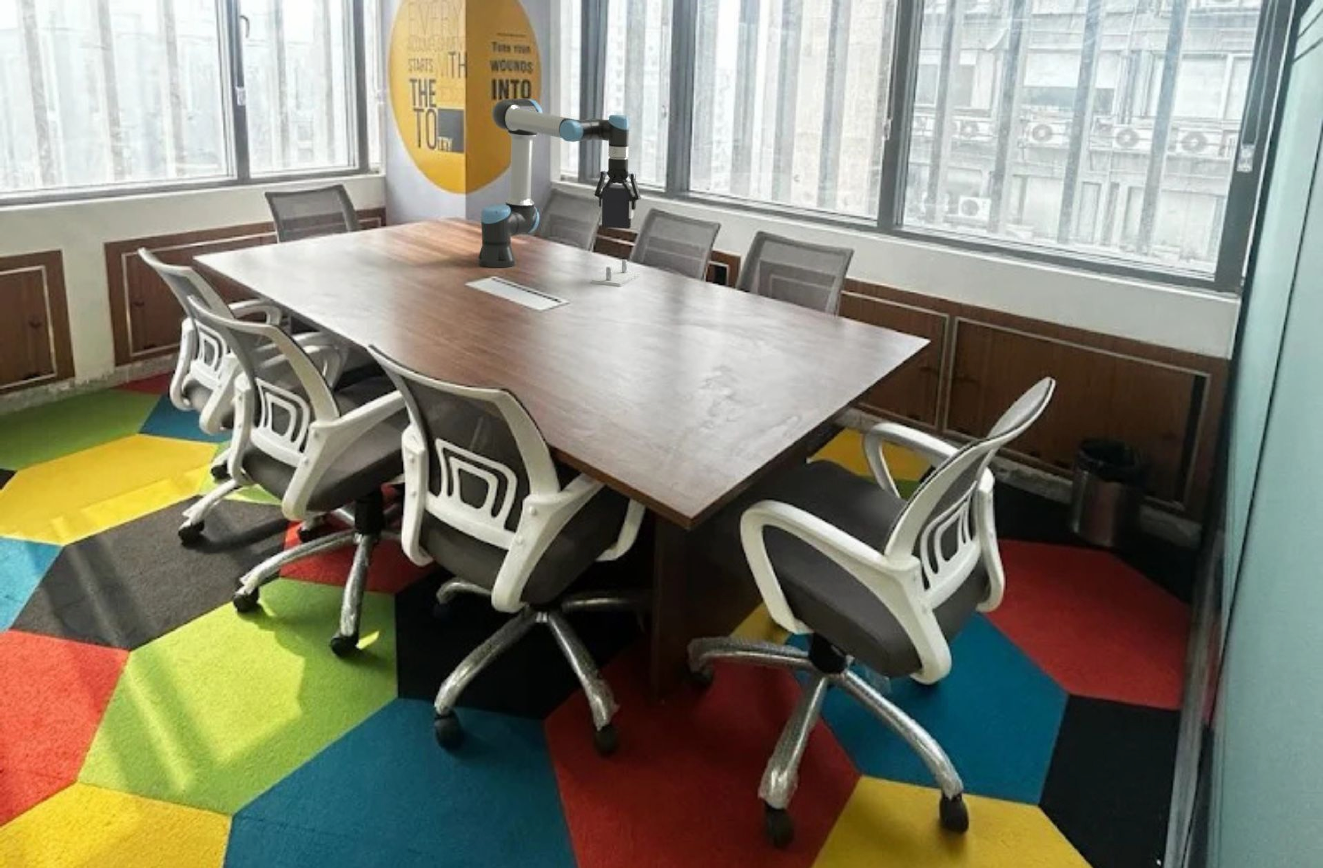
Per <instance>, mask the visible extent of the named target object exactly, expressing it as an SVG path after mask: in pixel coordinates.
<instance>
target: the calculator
mask: <svg viewBox="0 0 1323 868" xmlns="http://www.w3.org/2000/svg"><path fill="white" fill-rule="evenodd" d="M629 190H630V192H631V190H632V191H633V188H631V189H629ZM601 192H602V216H601V227H602V228H609V229H625V230H626V229H627V230H630V229H631V227H632V218H631V219H629V201H631V199H630V197H629V195H628V193H627V191H626V189H625V188H624V187H613V186H611V187H608V188H607V187H605V186H604V187H602V189H601Z"/></svg>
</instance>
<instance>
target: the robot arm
mask: <svg viewBox="0 0 1323 868" xmlns="http://www.w3.org/2000/svg"><path fill="white" fill-rule="evenodd" d="M492 120H493V122H494V124H495V125H496V126H497V127H498V128H500V130H504V131H507V134H508V135H509V136H510V138H511V140H510V141H511V144H510V145H511V146H510V147H511V148H510V177H509V178H510V179H509V197H508V198H507V199H506V201H505V204H492V205H491V204H490V205H487V206H485V207H484V208H482V210H481V213H480V214H481V217H480V223H481V225H480V227H481V244H482V245H481V248H480V251H479V255H478V257H477V258H478V259H477V261H478V262H477V264H478V265H479V266H481V267H482V266H483V267H485V268H486V267H487V268H509V267H512V266H515V265H516V257H515V254H514V252H513V248H512V242H511V241H512V240H511V237H515V236H521V235H523V236H524V235H527V234H529V233H530V234H531V233H532V232H534V231H535V230H536V229H538V228H537V227H538V225H539V222H540V213H539V211H538V208H536V206H535V202H534V201H533V199H532V197H531V196H532V195H531V194H532V171H533V149H534V147H533V146H534V145H533V144H534V143H533V142H534V139H535V138H536V137H537V136H538V134H541V135H547V136H550V137H556V138H560V139H562V140H564V141H565V142H571V143H572V142H573V143H574V142H583V141H585V142H586V141H606V142H607V141H608V153H607V154H608V159H607V160H608V161H607V163H608V164H607V171H605V170H601V171H600V172H599V180H598V182H597V185H596V189H595V192H594V194H593V195H594V197H597V198H598V206H599V207H600V216H601V217H602V188H603V186H604V183H605V180H606V177H607V176H608V180H607V182H606V184H605V186H604V187H607V188H608V187H612V185H613V184H621V185H622V186H623V188H625V189H626V191H627V193H628V195H629V197H630V199H631V201H629V219H631V220H632V219H633V218H634V211H635V210H636V209H637V201H639V200H641V199H642V196H641V194H640V190H639V185H638V183H637V180H636V179H637V175H636V173H634V172H633V173H632V172H631V173H629V170H628V169H629V159H628V158H629V137H630V136H629V134H630V121H629V116H628V115H626V114H625V115H624V114H610V115H609V116H608V119H600V118H595V117H594V118H593V117H591V118H586V119H574V118H569V117H568V118H567V117H565V116H564V117H563V116H560V115H554V114H549V113H543V108H542V107H541V106H540V104H539V103H538V102H537V101H536V100H534V99H532V98H504V99H502V100H499V101H498V102H496V103H495V105H494V107H493V109H492ZM627 178H628V179H629V180H630V183H631V184H629V181H628V179H627ZM630 185H631V186H630ZM629 189H632V190H631V192H630V190H629Z"/></svg>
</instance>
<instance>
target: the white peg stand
mask: <svg viewBox="0 0 1323 868" xmlns="http://www.w3.org/2000/svg"><path fill="white" fill-rule="evenodd" d="M627 265H628V259H622V260H621V270H618V269H612V267H611V266H607V267H605V268H606V270H605V271H606V272H604V273H603V274H601V275H599V276H596V277H595V278H592V279H591V280H590V281H591V284H598V285H604V286H612V287H622V286H624V285H626V284H628V283H630V282H632V281H633V280H635V279H638V278H639V277H641V276H640V275H642V273H641V272H638V271H631V270H628V268H627V267H628V266H627Z"/></svg>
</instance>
